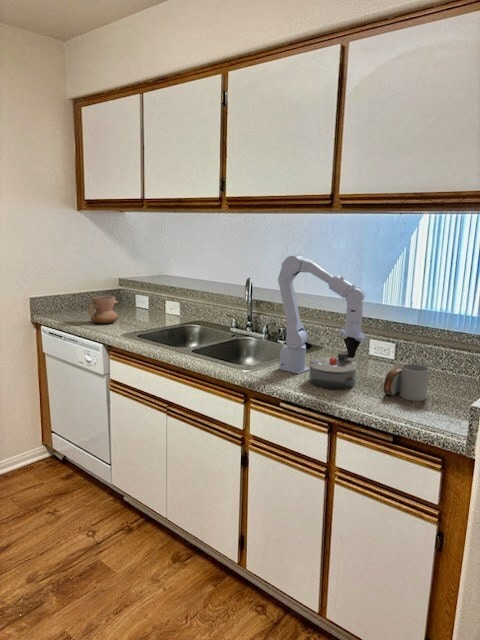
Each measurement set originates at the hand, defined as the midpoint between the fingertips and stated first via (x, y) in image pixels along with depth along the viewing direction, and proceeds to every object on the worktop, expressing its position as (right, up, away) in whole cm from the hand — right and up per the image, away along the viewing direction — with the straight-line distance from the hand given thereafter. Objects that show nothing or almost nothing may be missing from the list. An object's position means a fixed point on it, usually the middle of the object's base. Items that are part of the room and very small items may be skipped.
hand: (351, 357), depth 179 cm
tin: (+12, -11, -13) cm, 21 cm away
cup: (+17, -12, -17) cm, 26 cm away
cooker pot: (-6, -8, -3) cm, 11 cm away
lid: (-6, -2, -4) cm, 8 cm away
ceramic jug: (-116, +12, +88) cm, 146 cm away
